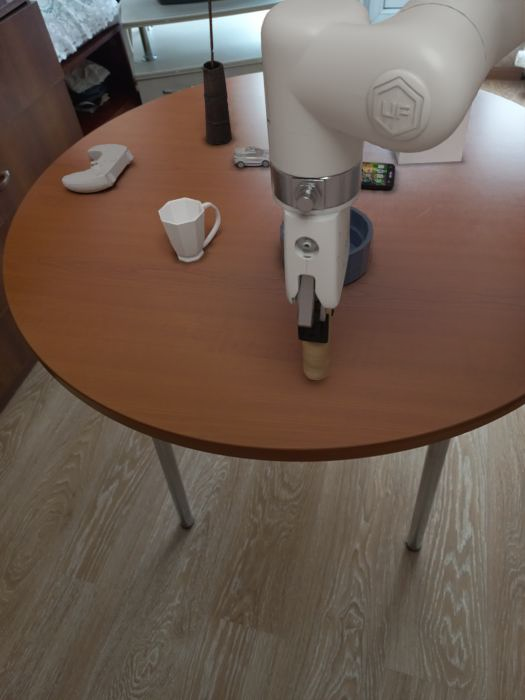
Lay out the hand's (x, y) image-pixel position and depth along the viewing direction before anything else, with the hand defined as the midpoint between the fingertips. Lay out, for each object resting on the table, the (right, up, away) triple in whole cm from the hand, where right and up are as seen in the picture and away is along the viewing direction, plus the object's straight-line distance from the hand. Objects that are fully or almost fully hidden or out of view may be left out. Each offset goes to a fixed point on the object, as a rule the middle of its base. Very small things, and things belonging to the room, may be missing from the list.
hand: (316, 325), depth 57 cm
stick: (+1, -5, +6) cm, 8 cm away
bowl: (+4, +11, +23) cm, 26 cm away
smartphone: (+10, +29, +37) cm, 48 cm away
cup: (-16, +14, +27) cm, 34 cm away
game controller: (-37, +31, +43) cm, 64 cm away
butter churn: (-15, +40, +49) cm, 65 cm away
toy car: (-7, +33, +43) cm, 55 cm away
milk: (+25, +37, +43) cm, 62 cm away
